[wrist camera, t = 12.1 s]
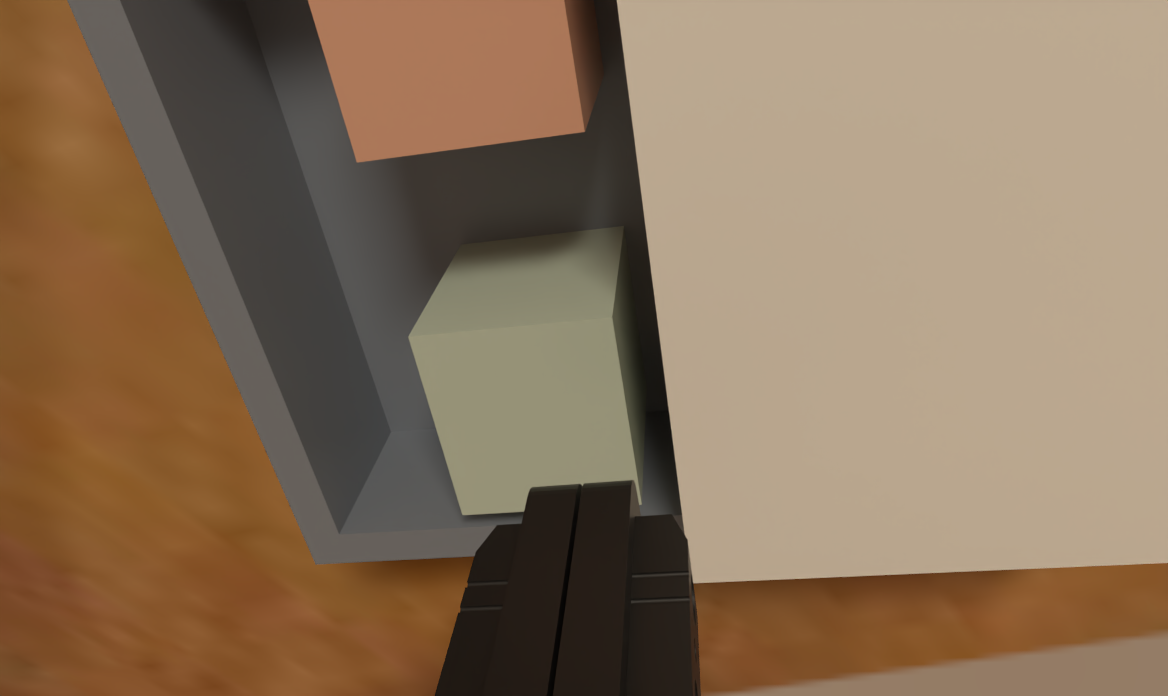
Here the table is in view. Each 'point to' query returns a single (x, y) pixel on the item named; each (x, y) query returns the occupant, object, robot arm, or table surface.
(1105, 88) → the cream rectangular block
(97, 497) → the table surface
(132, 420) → the table surface
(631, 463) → the sage green cube
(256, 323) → the box
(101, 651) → the table surface
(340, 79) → the orange cube
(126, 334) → the table surface
